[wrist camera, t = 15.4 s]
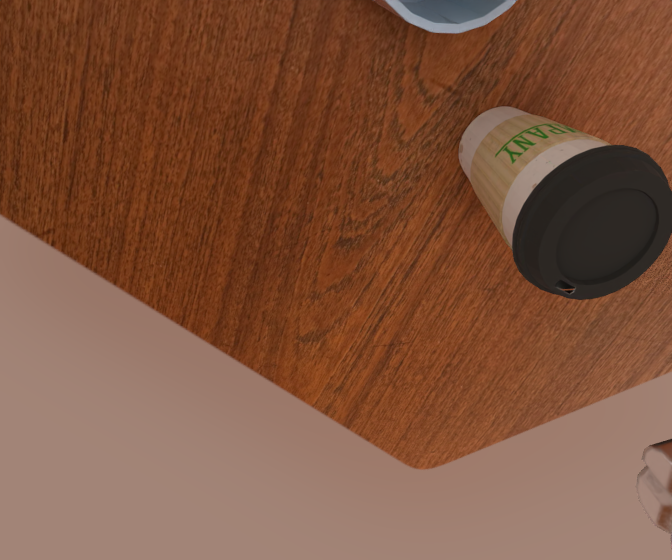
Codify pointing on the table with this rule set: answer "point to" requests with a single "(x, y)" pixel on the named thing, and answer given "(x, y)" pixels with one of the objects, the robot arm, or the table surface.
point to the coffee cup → (567, 201)
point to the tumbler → (447, 13)
